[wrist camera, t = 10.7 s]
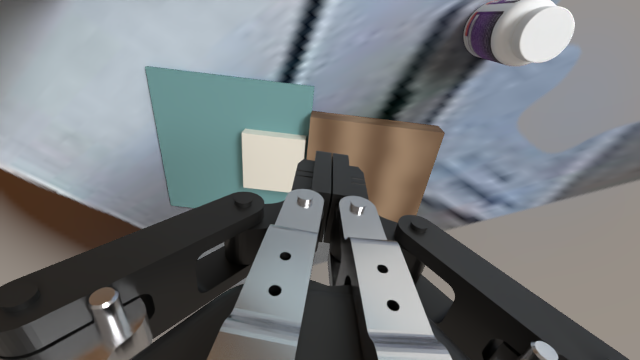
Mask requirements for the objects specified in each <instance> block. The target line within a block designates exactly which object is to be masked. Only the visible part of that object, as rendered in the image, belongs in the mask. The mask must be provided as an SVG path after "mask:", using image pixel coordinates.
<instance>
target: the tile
mask: <svg viewBox="0 0 640 360" xmlns="http://www.w3.org/2000/svg"><path fill="white" fill-rule="evenodd" d="M306 137H307V136H305V135H296V134H288V133H279V132H270V131H262V130H253V129H244V131H243V132H242V161H243V187H244V188H252V189H261V190H270V191H279V192H288V193H289V192H291V190H292V186H293V181H294V177H295V173H296V169H297V165H298V163H299V162H300V161H302V160H303V159H305V148H306Z"/></svg>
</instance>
